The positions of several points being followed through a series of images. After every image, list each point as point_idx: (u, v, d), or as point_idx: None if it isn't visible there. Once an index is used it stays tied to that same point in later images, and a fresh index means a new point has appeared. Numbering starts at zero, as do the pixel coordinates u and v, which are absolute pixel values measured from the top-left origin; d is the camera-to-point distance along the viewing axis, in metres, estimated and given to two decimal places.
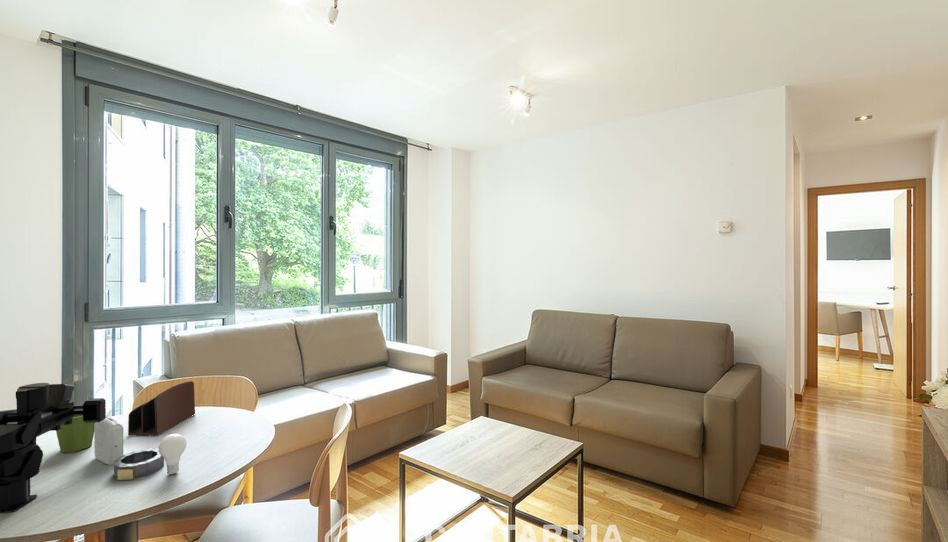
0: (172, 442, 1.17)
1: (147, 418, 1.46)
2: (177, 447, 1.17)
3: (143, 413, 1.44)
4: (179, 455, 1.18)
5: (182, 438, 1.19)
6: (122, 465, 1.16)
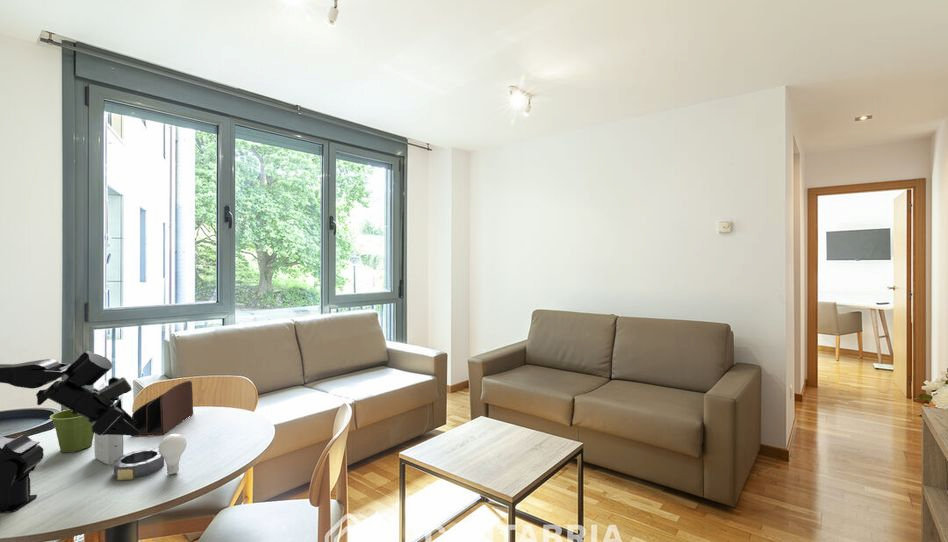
0: (172, 442, 1.17)
1: (151, 418, 1.46)
2: (177, 447, 1.17)
3: (148, 413, 1.45)
4: (179, 455, 1.18)
5: (182, 438, 1.19)
6: (122, 465, 1.16)
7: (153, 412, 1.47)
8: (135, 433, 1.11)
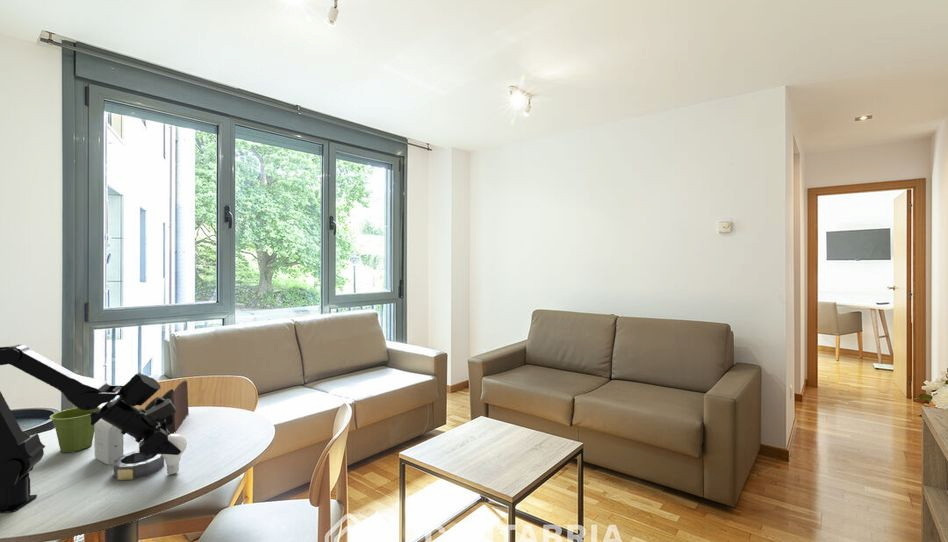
0: (172, 442, 1.17)
1: None
2: None
3: None
4: (179, 455, 1.18)
5: (182, 438, 1.19)
6: (122, 465, 1.16)
7: None
8: (177, 452, 1.17)
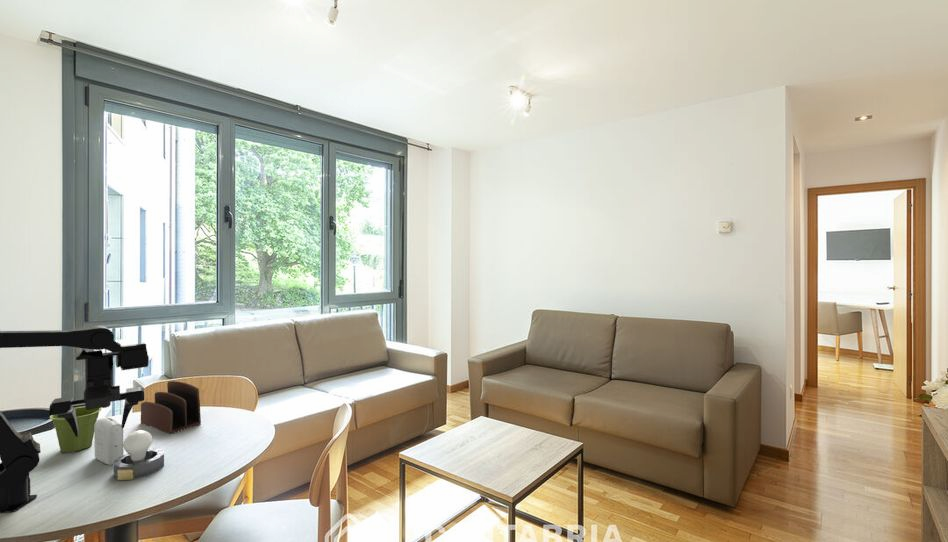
0: (137, 439, 1.19)
1: None
2: (142, 444, 1.19)
3: (186, 407, 1.50)
4: (144, 451, 1.21)
5: (147, 435, 1.21)
6: (122, 465, 1.16)
7: None
8: (75, 434, 1.12)
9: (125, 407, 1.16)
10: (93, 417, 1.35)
